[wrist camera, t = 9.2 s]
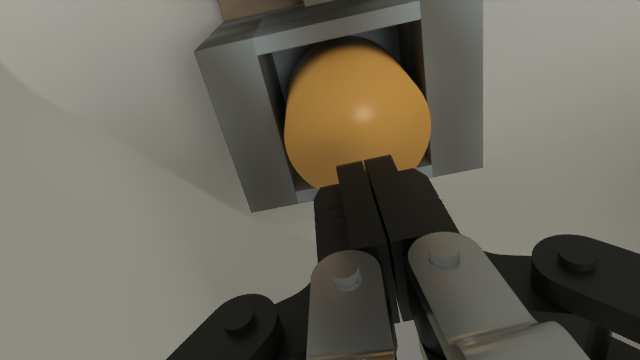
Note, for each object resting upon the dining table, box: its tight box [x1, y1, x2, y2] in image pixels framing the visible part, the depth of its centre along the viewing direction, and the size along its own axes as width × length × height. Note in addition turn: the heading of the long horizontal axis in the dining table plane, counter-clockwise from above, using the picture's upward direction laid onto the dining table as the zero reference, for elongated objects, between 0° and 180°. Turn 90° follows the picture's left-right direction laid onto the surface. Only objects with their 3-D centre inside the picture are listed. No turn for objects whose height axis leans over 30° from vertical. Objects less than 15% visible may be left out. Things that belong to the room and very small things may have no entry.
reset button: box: [284, 36, 431, 190], centre depth 16 cm, size 5×5×4 cm
